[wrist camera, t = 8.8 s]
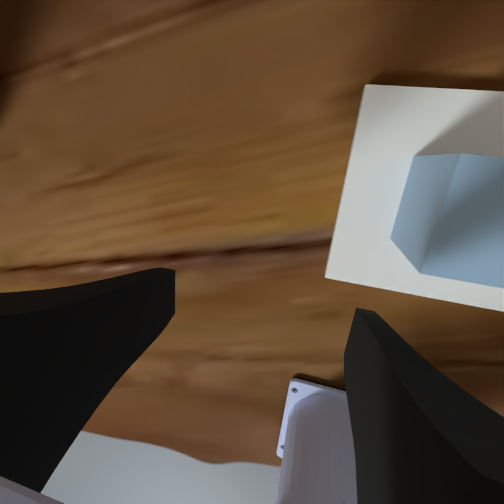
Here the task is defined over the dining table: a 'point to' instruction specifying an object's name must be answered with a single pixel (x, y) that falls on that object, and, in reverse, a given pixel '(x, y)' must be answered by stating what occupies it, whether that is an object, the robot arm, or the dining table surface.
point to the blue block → (454, 218)
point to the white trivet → (394, 179)
